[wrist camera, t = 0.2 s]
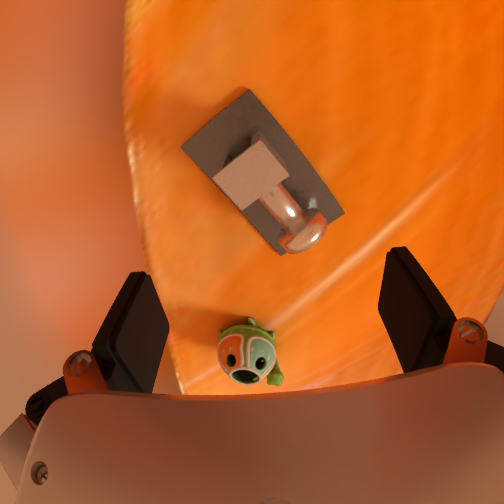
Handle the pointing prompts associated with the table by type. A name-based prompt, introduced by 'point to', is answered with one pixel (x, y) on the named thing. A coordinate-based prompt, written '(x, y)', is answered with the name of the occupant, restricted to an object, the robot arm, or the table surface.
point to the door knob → (294, 220)
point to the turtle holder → (249, 354)
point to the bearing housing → (258, 165)
